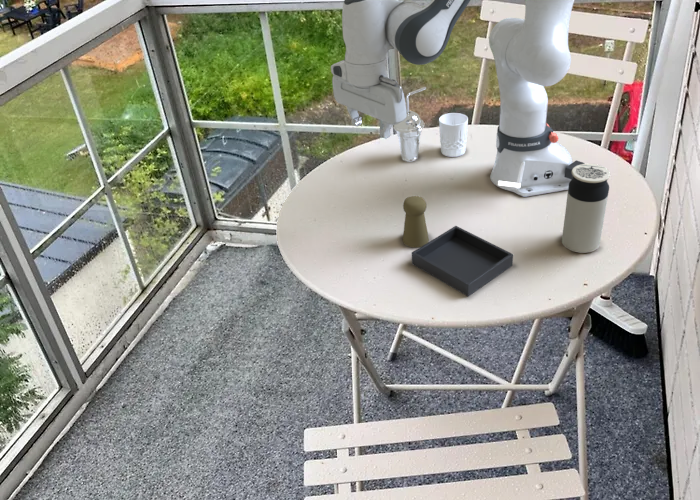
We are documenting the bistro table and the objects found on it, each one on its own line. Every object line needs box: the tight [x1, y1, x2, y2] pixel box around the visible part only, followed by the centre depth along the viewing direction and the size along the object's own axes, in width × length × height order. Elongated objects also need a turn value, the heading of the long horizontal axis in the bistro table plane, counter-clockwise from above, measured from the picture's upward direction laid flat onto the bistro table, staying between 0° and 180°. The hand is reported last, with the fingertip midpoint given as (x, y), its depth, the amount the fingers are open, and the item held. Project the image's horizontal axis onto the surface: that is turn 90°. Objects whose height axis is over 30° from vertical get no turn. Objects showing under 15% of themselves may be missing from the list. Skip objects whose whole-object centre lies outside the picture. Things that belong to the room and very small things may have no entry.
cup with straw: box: [392, 86, 427, 163], centre depth 178 cm, size 8×9×20 cm
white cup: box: [438, 112, 469, 158], centre depth 181 cm, size 8×8×10 cm
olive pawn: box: [402, 195, 430, 248], centre depth 148 cm, size 6×6×11 cm
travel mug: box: [561, 163, 611, 254], centre depth 139 cm, size 8×8×18 cm
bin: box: [411, 225, 514, 297], centre depth 141 cm, size 16×14×3 cm
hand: (370, 130), depth 146 cm, fingers open, 8 cm apart
